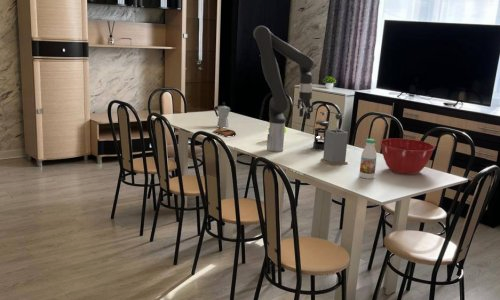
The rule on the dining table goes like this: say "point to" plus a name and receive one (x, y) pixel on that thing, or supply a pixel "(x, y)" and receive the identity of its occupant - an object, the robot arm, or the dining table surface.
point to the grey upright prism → (335, 147)
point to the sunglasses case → (225, 131)
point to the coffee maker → (222, 115)
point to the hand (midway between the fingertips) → (304, 117)
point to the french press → (317, 143)
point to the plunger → (337, 121)
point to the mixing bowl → (406, 155)
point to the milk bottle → (368, 160)
